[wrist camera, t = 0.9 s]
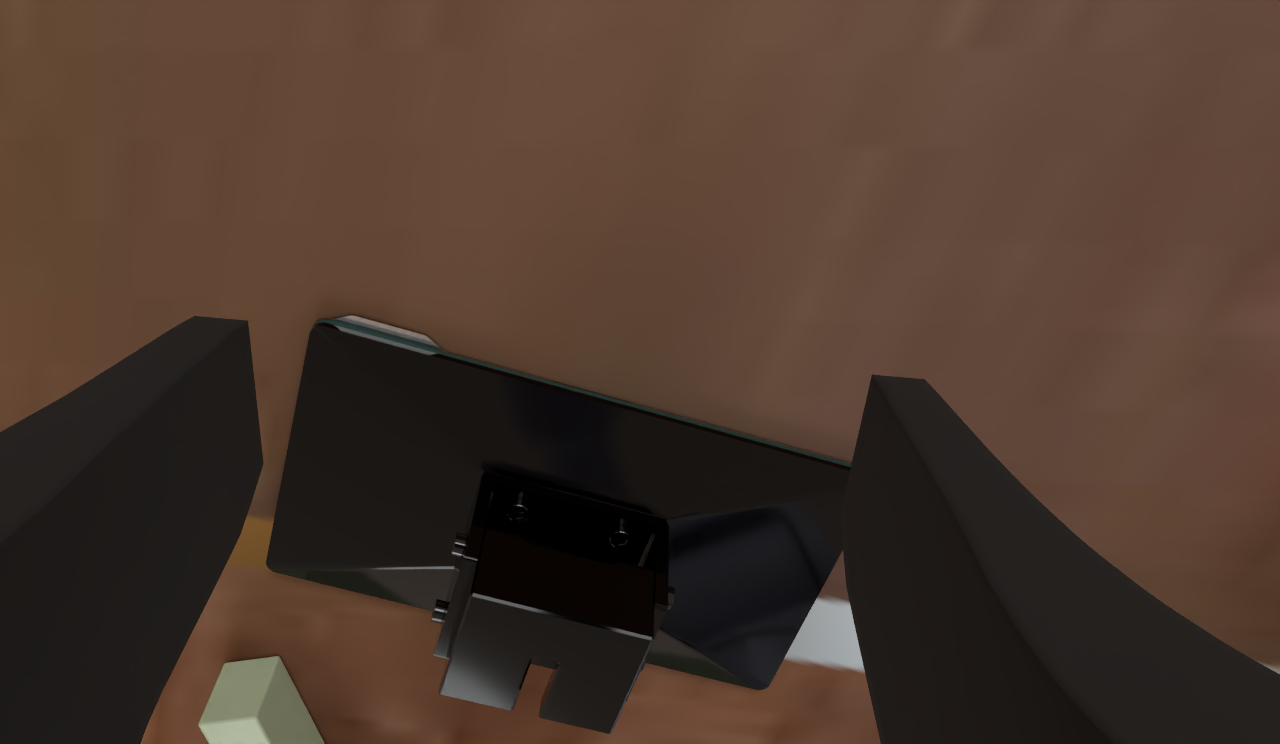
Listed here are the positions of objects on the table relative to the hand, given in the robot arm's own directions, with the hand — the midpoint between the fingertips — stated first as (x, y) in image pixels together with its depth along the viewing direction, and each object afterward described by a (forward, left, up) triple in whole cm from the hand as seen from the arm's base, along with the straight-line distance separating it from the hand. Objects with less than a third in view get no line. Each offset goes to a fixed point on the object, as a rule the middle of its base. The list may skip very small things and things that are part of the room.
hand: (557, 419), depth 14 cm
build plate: (-9, +3, -10) cm, 14 cm away
